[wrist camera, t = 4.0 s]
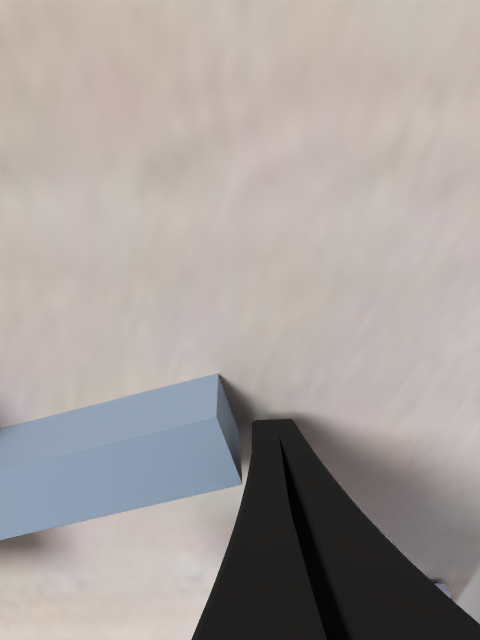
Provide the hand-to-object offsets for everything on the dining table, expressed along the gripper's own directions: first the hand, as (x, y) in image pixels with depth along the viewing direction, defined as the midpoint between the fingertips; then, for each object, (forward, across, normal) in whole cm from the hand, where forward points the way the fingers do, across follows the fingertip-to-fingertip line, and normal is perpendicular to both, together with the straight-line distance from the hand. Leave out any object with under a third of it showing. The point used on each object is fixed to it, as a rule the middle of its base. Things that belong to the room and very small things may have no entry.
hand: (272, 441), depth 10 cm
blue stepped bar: (+1, +6, 0) cm, 6 cm away
